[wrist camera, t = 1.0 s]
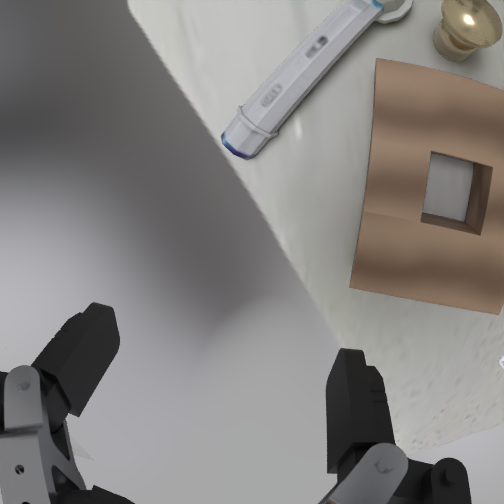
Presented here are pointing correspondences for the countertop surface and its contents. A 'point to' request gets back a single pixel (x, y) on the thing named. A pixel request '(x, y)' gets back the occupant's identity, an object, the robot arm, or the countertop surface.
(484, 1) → the short pin
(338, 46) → the white electric toothbrush
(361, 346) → the countertop surface
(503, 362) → the soap
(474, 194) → the hole block
